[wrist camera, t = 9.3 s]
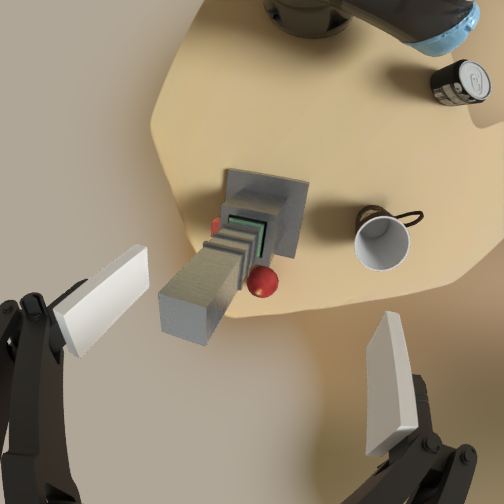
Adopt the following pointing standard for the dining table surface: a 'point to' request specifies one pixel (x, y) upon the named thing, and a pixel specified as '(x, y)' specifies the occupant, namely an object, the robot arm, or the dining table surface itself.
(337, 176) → the dining table surface
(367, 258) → the coffee mug
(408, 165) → the dining table surface
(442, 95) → the beverage can
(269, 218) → the stand
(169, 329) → the column
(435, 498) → the robot arm
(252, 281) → the onion
